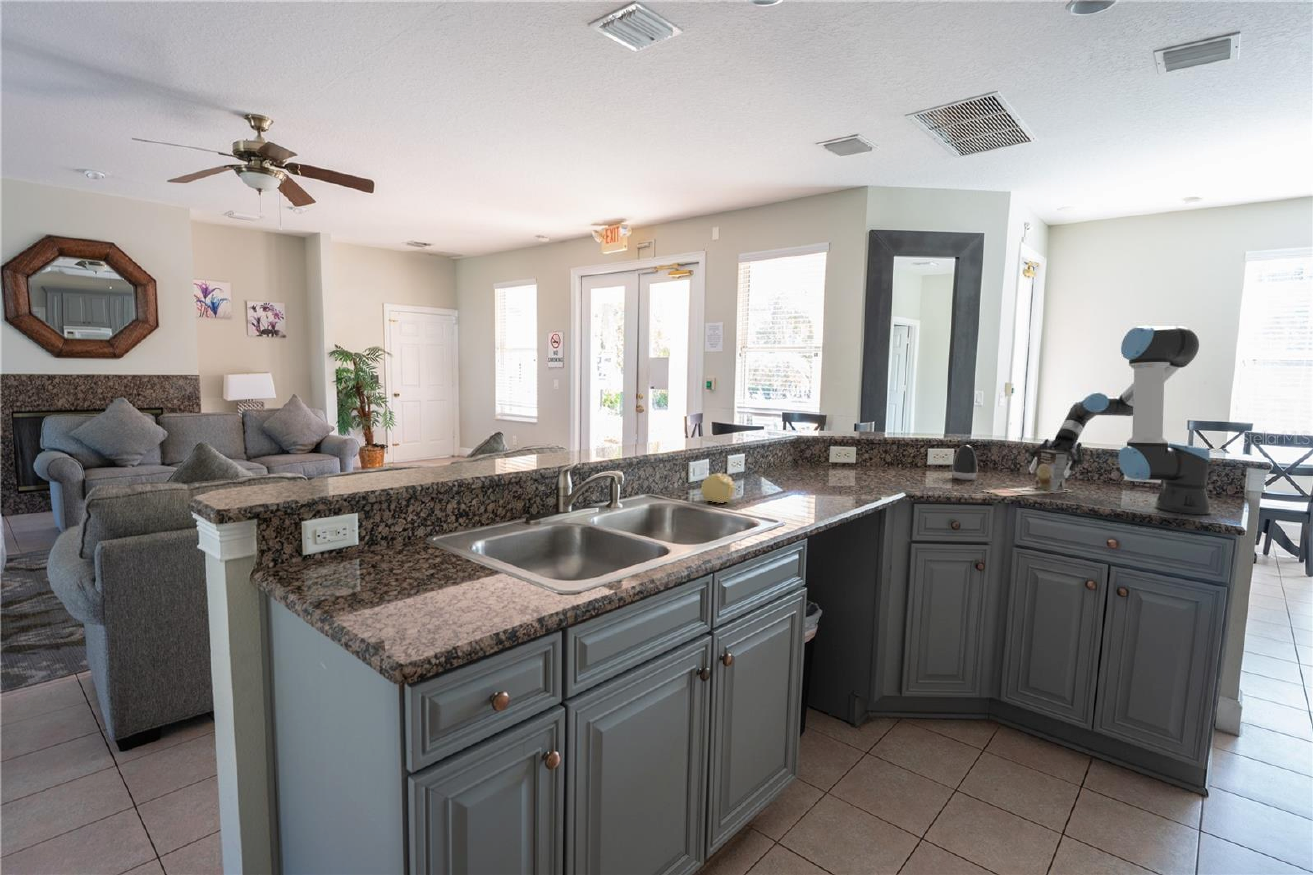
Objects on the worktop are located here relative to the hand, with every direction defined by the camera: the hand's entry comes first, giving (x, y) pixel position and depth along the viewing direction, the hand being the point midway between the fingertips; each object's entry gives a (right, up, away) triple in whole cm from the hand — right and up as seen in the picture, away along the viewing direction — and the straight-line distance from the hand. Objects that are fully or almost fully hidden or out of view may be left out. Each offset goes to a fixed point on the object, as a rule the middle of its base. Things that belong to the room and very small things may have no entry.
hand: (1047, 473), depth 263 cm
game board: (-9, -7, -2) cm, 12 cm away
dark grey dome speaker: (-22, -4, +25) cm, 34 cm away
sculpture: (-135, -9, -26) cm, 138 cm away
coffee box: (+2, -7, +2) cm, 8 cm away
